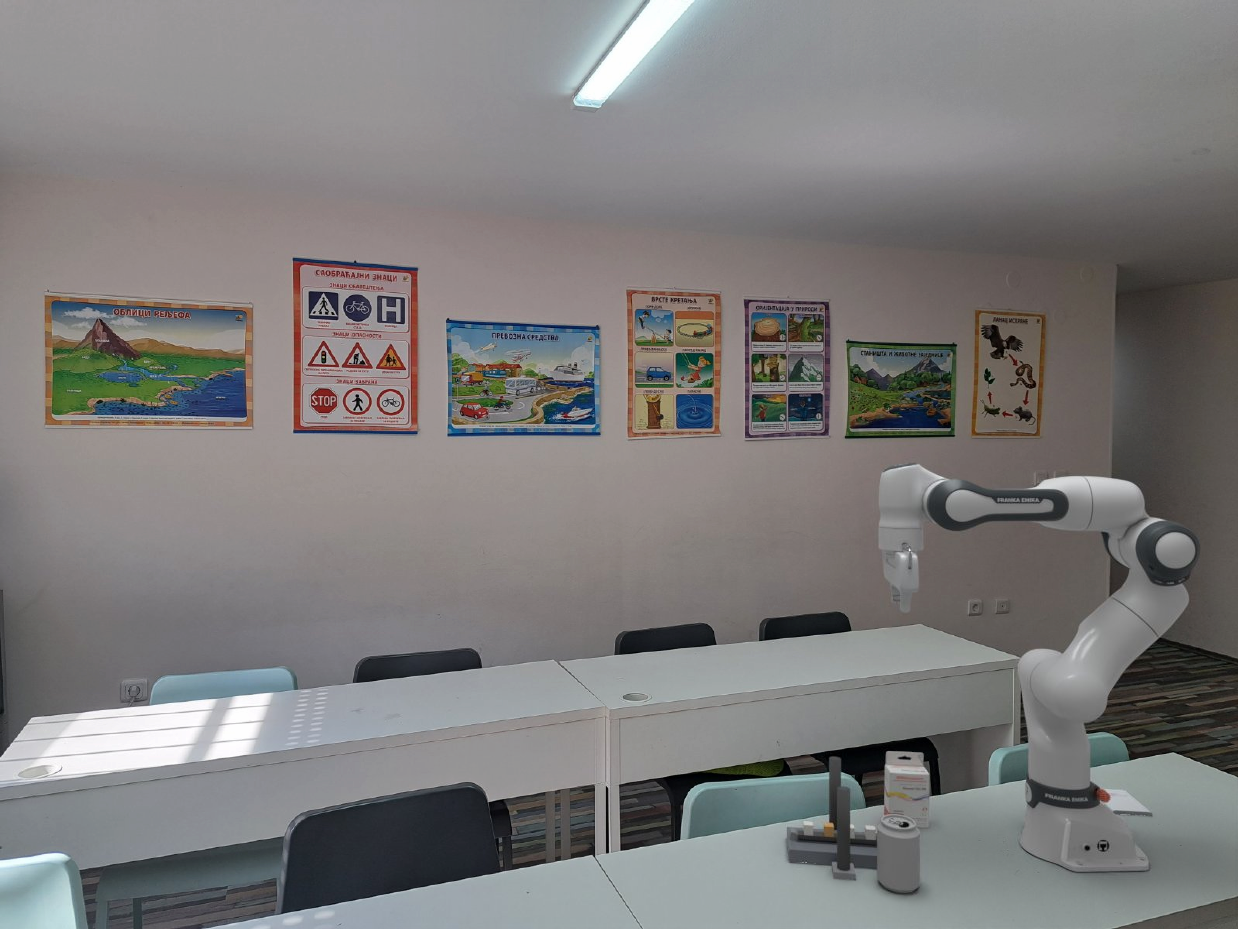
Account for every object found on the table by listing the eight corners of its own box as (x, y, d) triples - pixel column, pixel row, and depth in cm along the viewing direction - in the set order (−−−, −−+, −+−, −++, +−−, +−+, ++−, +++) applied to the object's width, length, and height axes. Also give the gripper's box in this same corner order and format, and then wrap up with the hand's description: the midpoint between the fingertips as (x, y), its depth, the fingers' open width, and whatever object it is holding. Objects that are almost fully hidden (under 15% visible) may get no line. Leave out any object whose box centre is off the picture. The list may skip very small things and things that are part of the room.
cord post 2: (853, 869, 157) (853, 785, 157) (855, 880, 153) (855, 793, 153) (831, 868, 158) (831, 784, 158) (833, 878, 154) (833, 792, 154)
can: (914, 899, 146) (914, 832, 146) (872, 888, 150) (872, 823, 150) (923, 881, 153) (923, 817, 153) (882, 870, 157) (882, 808, 156)
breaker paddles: (879, 840, 163) (879, 826, 163) (881, 844, 161) (881, 830, 161) (797, 834, 165) (797, 820, 165) (798, 838, 163) (798, 824, 163)
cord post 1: (843, 832, 173) (843, 755, 173) (845, 841, 169) (846, 762, 169) (824, 831, 173) (824, 754, 173) (826, 839, 169) (826, 761, 169)
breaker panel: (886, 846, 167) (886, 826, 167) (895, 870, 157) (895, 849, 157) (786, 839, 170) (786, 819, 170) (789, 862, 160) (789, 841, 160)
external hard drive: (1112, 817, 182) (1088, 794, 194) (1152, 819, 181) (1125, 796, 193) (1112, 810, 182) (1088, 787, 194) (1152, 812, 181) (1125, 789, 193)
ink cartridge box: (888, 827, 175) (889, 758, 175) (883, 817, 180) (883, 750, 180) (930, 828, 175) (930, 759, 174) (923, 818, 179) (923, 751, 179)
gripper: (927, 546, 159) (927, 617, 159) (907, 537, 179) (907, 600, 179) (893, 546, 160) (893, 616, 160) (877, 536, 180) (877, 599, 180)
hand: (900, 607), depth 170 cm, fingers open, 8 cm apart
